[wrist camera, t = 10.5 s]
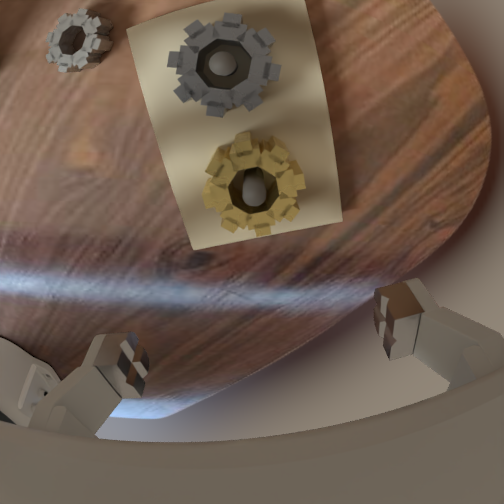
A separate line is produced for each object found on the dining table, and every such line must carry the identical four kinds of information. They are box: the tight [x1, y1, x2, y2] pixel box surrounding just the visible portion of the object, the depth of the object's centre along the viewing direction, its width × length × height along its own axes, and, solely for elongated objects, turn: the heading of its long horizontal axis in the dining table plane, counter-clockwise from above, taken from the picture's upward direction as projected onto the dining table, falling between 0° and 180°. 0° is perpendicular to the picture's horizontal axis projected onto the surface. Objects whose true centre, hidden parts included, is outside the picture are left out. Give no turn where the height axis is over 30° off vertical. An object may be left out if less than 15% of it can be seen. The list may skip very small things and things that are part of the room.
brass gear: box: [202, 131, 306, 237], centre depth 21 cm, size 6×6×3 cm
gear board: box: [126, 0, 343, 250], centre depth 19 cm, size 18×12×6 cm, turn 12°
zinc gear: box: [46, 9, 114, 73], centre depth 16 cm, size 5×5×2 cm
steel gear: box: [167, 13, 282, 118], centre depth 17 cm, size 6×6×3 cm
